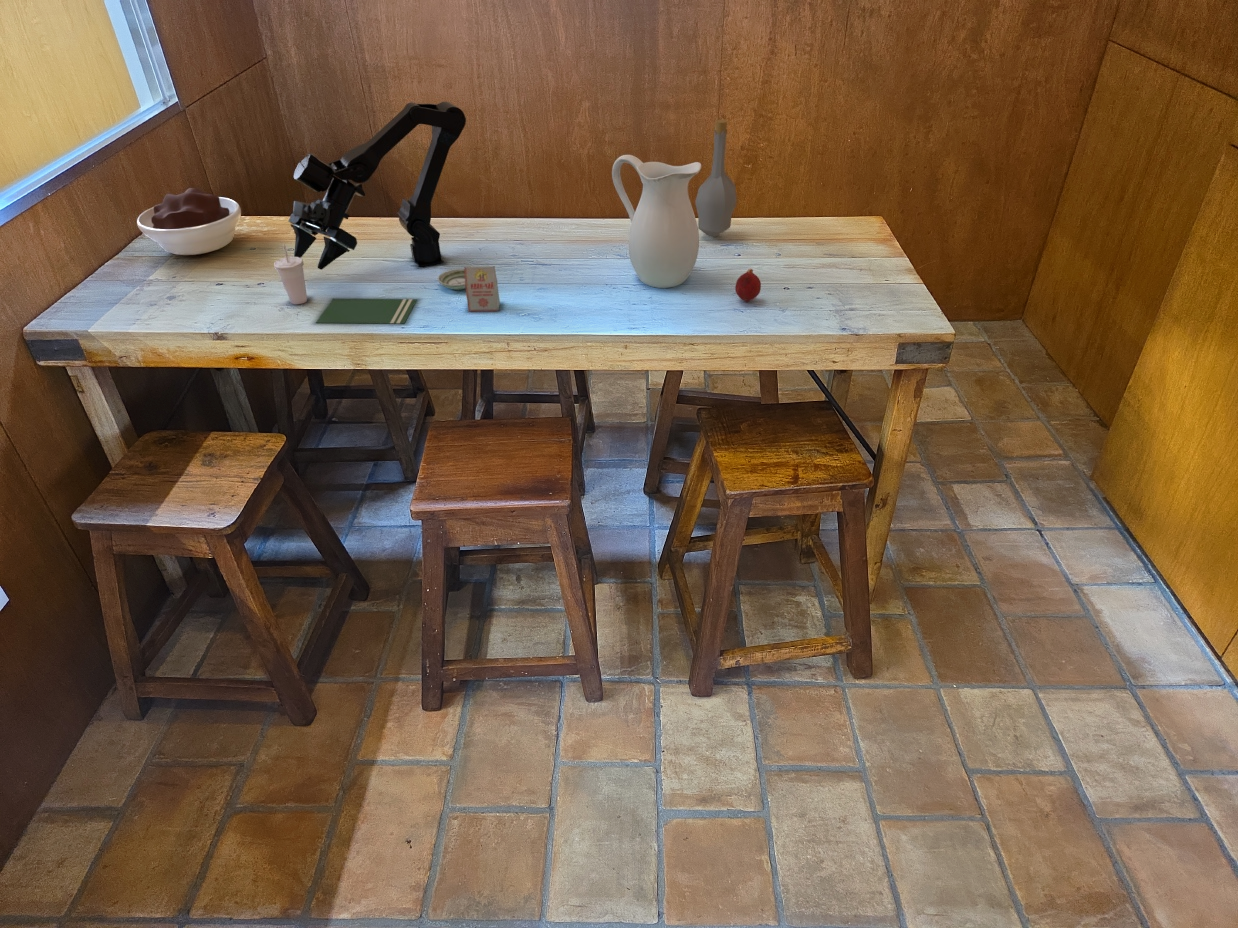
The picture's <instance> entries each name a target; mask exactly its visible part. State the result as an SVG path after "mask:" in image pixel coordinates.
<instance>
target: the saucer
mask: <svg viewBox="0 0 1238 928" xmlns="http://www.w3.org/2000/svg"><path fill="white" fill-rule="evenodd" d="M437 282H438V283H439V284H440V285H442V286H443V287H445V288H447V289H450V290H452V291H461V290H466V288H465V272H464V268H454V269H450V270H447V271H444V272H442V273H441V274H439V275H438V277H437Z"/></svg>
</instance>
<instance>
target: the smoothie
mask: <svg viewBox="0 0 1238 928" xmlns="http://www.w3.org/2000/svg"><path fill="white" fill-rule="evenodd" d="M281 246H282V250H283V253H284V257H282V258H279V259H277V260H275V261H274V263H273V267H274V269H275V271H277V274H278V276H279V279H280V281H281V283H282V285H283V287H284V290H285V292H286V295H287V296H288V299H289V302H290V303H291V304H292V305H302V304H304V303H306V302H308V294H307V287H306V280H305V273H304V272H305V271H304V265H305V263H304V260H303V258H302V257H301V258H299V257H294V256H289V255H288V250H287V248H286V244H285V243H283V244H281Z"/></svg>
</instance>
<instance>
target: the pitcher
mask: <svg viewBox="0 0 1238 928" xmlns="http://www.w3.org/2000/svg"><path fill="white" fill-rule="evenodd" d="M624 163H626V164H629V165H631V166H632V167H633V168H634V170H635V171H636V172H637V174H638V176H639V177H640V181H641V183H642V191H641V195H640V199H639V201H638V204H637V206H636V209H634V207H633V204H632V203H631V201H630V199H629V197H628V194H627V192H626V190H625V188H624V185H623V182H622V177H621V170H622V169H621V168H622V166H623V164H624ZM701 170H702V163H701V162H700V161H699V162H698V161H695V162H691V163H688V164H684V165H671V164H667V163H664V162H660V161H647V162H643V161H642V160H641V159H639V157H636V156H635V155H632V154H622V155H620V156H619V157H617V158H616V160H615V161H614V163H613V165H612V169H611V177H612V182H613V186H614V188H615V190H616V193H617V195H618V196H619V198H620V200H621V202H622V204H623V206H624V208H625V209H626V212H627V214H628V217H629V220H630V225H629V230H628V239H627V249H628V256H629V260H630V264H631V266H632V268H633V269H634V270H633V271H634V272H635V274H636V276H637V277H638V279H639V281H640V282H642V283H643V285H646V286H649V287H652V288H657V289H666V288H667V289H668V288H674V287H678V286H680V285H682V284H683V283H685V281H687V279H688V278H689V276H690V274H691V273H692V271H693V269H694V268H695V265H696V262H697V259H698V255H699V249H700V234H699V232H700V231H699V228H698V223H697V219H696V215H695V212H694V209H693V205H692V203H691V200H690V197H689V196H690V195H689V182H690V181H691V180H692V179H693V178H694V177H696V175H698V174H699V173H700V172H701Z"/></svg>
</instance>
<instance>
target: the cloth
mask: <svg viewBox="0 0 1238 928" xmlns="http://www.w3.org/2000/svg"><path fill="white" fill-rule="evenodd" d="M417 301H418V299H416V298H332V299H331V301H330V302H329V303H328V305H327V306H326V307H325V309H324V310H323V312H322V313H321V314H320V316H319V317H318V319H317V320H316V322H315V324H358V325H359V324H362V325H363V324H365V325H366V324H369V325H370V324H374V325H376V324H377V325H378V324H379V325H384V324H385V325H404V324H405V323H406V321H407V320H408V318H409V316H410V314H411V312H412V310H413V309H414V306H415V304H416V302H417Z"/></svg>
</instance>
